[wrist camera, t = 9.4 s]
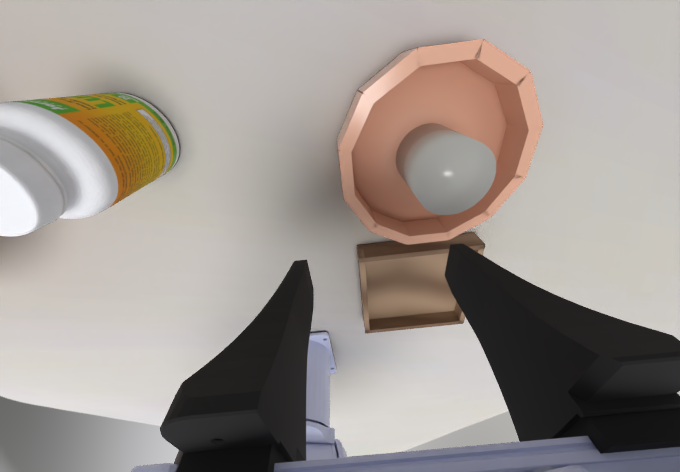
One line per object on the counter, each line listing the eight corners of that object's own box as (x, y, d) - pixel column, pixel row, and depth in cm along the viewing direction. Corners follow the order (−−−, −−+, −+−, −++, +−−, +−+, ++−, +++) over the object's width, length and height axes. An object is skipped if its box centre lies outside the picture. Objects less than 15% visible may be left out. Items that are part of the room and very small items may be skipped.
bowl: (486, 215, 22) (507, 233, 19) (347, 231, 22) (349, 251, 20) (534, 34, 15) (576, 26, 12) (328, 61, 15) (328, 59, 13)
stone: (451, 180, 19) (486, 210, 15) (395, 187, 19) (413, 219, 15) (460, 119, 16) (505, 134, 12) (396, 127, 17) (418, 145, 12)
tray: (455, 309, 29) (463, 323, 27) (363, 318, 29) (365, 333, 27) (473, 232, 23) (485, 244, 21) (357, 245, 23) (359, 258, 21)
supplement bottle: (149, 82, 15) (-51, 91, 7) (196, 164, 18) (91, 236, 10) (75, 103, 16) (-191, 135, 8) (132, 180, 19) (-16, 261, 11)
